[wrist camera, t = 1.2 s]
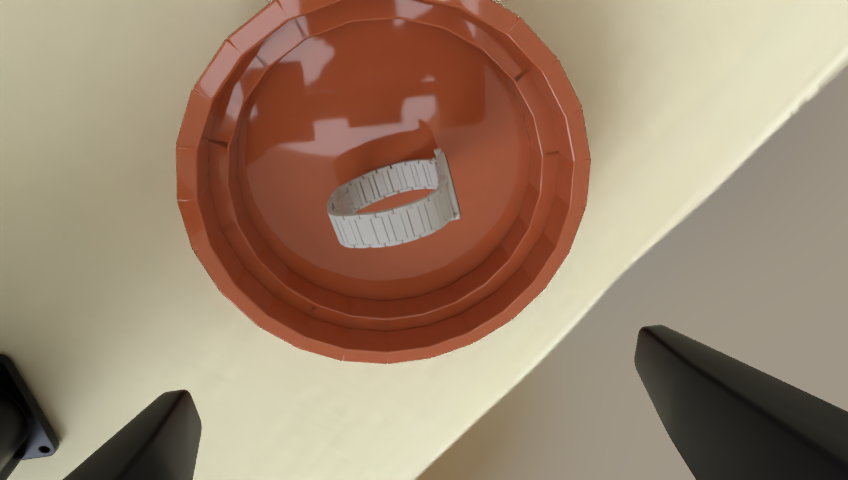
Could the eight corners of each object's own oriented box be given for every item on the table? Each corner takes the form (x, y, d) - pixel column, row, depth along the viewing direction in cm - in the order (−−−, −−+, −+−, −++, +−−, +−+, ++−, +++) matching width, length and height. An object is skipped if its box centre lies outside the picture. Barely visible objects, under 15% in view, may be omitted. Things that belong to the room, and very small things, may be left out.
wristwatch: (451, 191, 21) (476, 240, 17) (345, 222, 21) (342, 279, 17) (435, 130, 20) (458, 165, 16) (323, 163, 20) (313, 208, 16)
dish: (546, 298, 25) (573, 339, 22) (251, 335, 24) (235, 385, 21) (568, -36, 18) (611, -44, 15) (153, -9, 17) (108, -12, 14)
